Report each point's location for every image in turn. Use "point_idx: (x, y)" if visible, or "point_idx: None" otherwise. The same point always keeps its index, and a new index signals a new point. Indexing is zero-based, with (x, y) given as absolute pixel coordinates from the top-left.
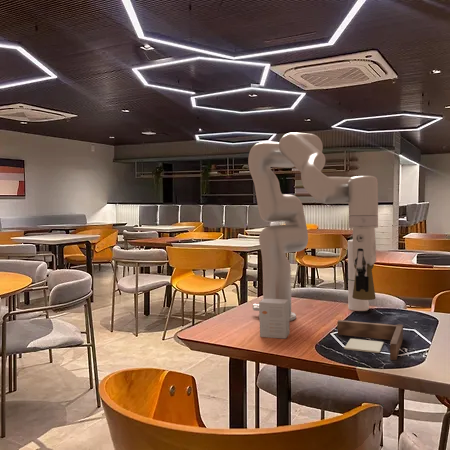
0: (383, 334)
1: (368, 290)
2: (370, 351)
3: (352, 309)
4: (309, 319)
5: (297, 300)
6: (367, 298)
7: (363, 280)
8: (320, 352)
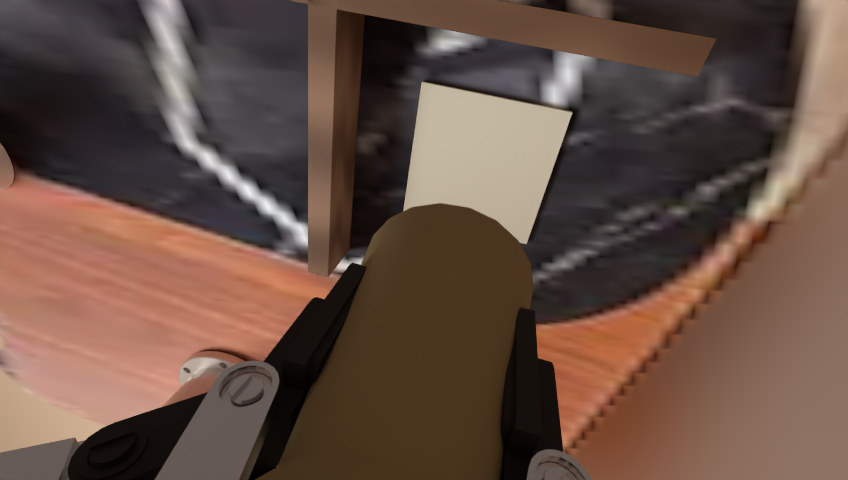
0: (353, 79)
1: (524, 310)
2: (559, 149)
3: (10, 176)
4: (208, 316)
5: (23, 331)
6: (531, 277)
7: (554, 438)
8: (570, 314)
